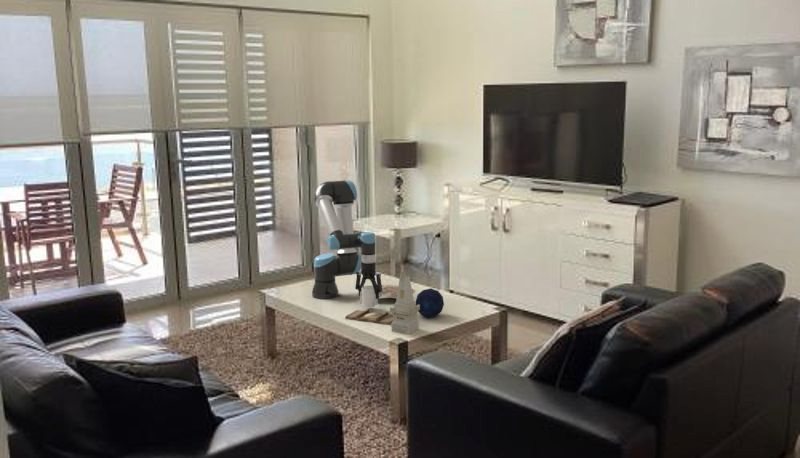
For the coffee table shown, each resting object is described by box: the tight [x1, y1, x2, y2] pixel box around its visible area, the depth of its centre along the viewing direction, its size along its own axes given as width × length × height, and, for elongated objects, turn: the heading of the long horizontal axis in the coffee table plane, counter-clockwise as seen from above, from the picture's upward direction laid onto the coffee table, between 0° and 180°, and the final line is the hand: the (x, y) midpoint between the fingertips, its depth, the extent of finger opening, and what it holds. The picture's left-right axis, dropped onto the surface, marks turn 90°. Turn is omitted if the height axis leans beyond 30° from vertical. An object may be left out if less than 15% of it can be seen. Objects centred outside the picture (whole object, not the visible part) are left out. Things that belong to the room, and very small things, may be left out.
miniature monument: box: [389, 269, 420, 335], centre depth 332 cm, size 10×10×30 cm
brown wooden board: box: [345, 308, 393, 326], centre depth 354 cm, size 25×12×2 cm, turn 64°
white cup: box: [361, 285, 376, 309], centre depth 368 cm, size 8×8×10 cm
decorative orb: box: [415, 287, 445, 319], centre depth 355 cm, size 14×15×15 cm
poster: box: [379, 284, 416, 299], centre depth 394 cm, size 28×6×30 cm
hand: (368, 303), depth 369 cm, fingers closed on white cup, 8 cm apart
